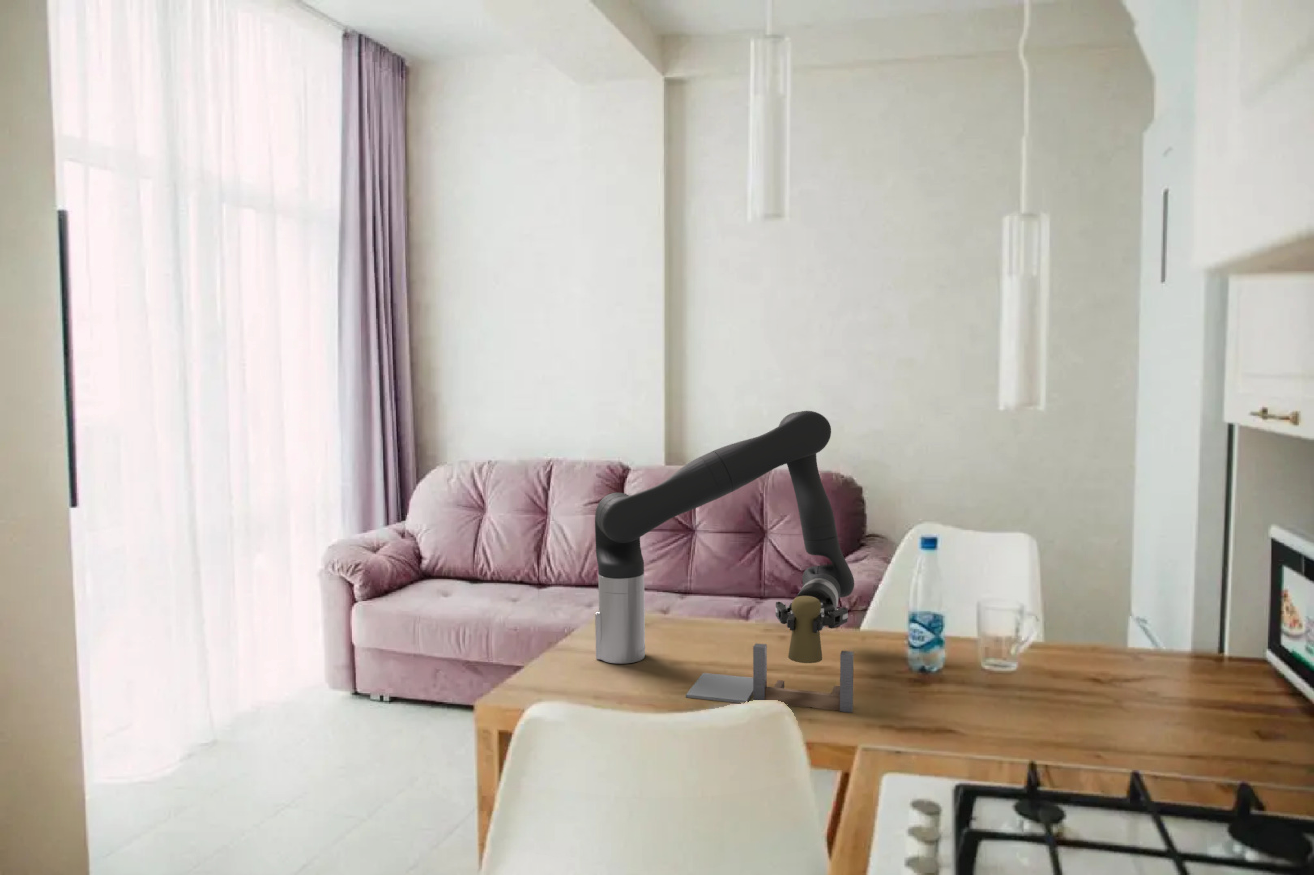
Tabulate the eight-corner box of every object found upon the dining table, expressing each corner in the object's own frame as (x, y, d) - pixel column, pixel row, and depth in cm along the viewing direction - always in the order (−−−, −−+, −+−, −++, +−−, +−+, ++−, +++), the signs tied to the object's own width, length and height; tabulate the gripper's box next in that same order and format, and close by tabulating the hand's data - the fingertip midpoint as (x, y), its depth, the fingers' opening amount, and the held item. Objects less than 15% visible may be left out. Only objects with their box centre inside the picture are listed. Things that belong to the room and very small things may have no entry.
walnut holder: (753, 702, 163) (753, 646, 162) (762, 685, 171) (762, 632, 170) (851, 712, 158) (852, 655, 157) (856, 695, 166) (857, 640, 165)
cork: (821, 652, 168) (822, 593, 167) (823, 663, 162) (825, 602, 161) (787, 651, 169) (788, 592, 168) (788, 662, 163) (790, 601, 162)
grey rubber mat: (686, 697, 166) (685, 694, 166) (703, 675, 177) (703, 672, 177) (746, 703, 162) (746, 700, 162) (760, 680, 174) (760, 678, 174)
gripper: (780, 579, 180) (763, 601, 164) (854, 585, 176) (845, 608, 160) (780, 617, 181) (763, 643, 165) (853, 623, 177) (844, 651, 160)
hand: (803, 626), depth 162 cm, fingers closed on cork, 3 cm apart
